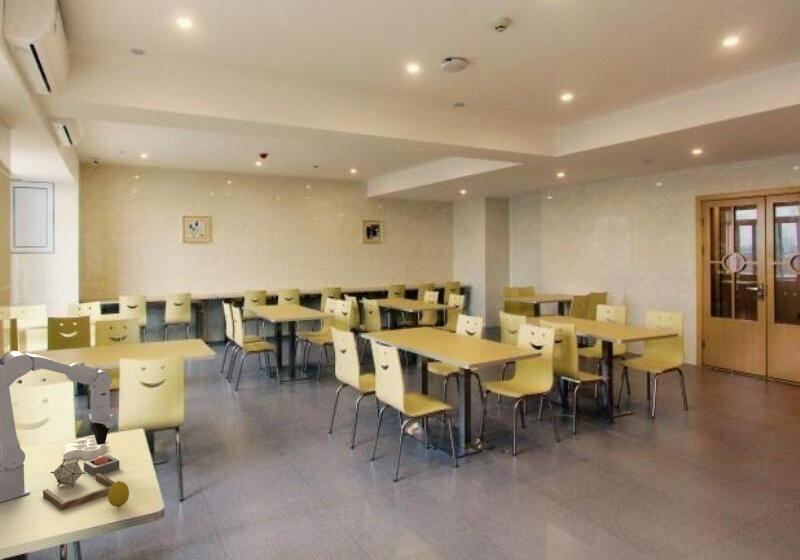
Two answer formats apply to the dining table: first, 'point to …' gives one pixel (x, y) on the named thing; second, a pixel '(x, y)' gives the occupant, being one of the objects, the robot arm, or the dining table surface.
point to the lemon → (118, 494)
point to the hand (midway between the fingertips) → (101, 443)
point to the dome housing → (101, 466)
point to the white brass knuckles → (84, 448)
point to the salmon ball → (101, 460)
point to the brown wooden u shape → (81, 499)
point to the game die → (68, 472)
